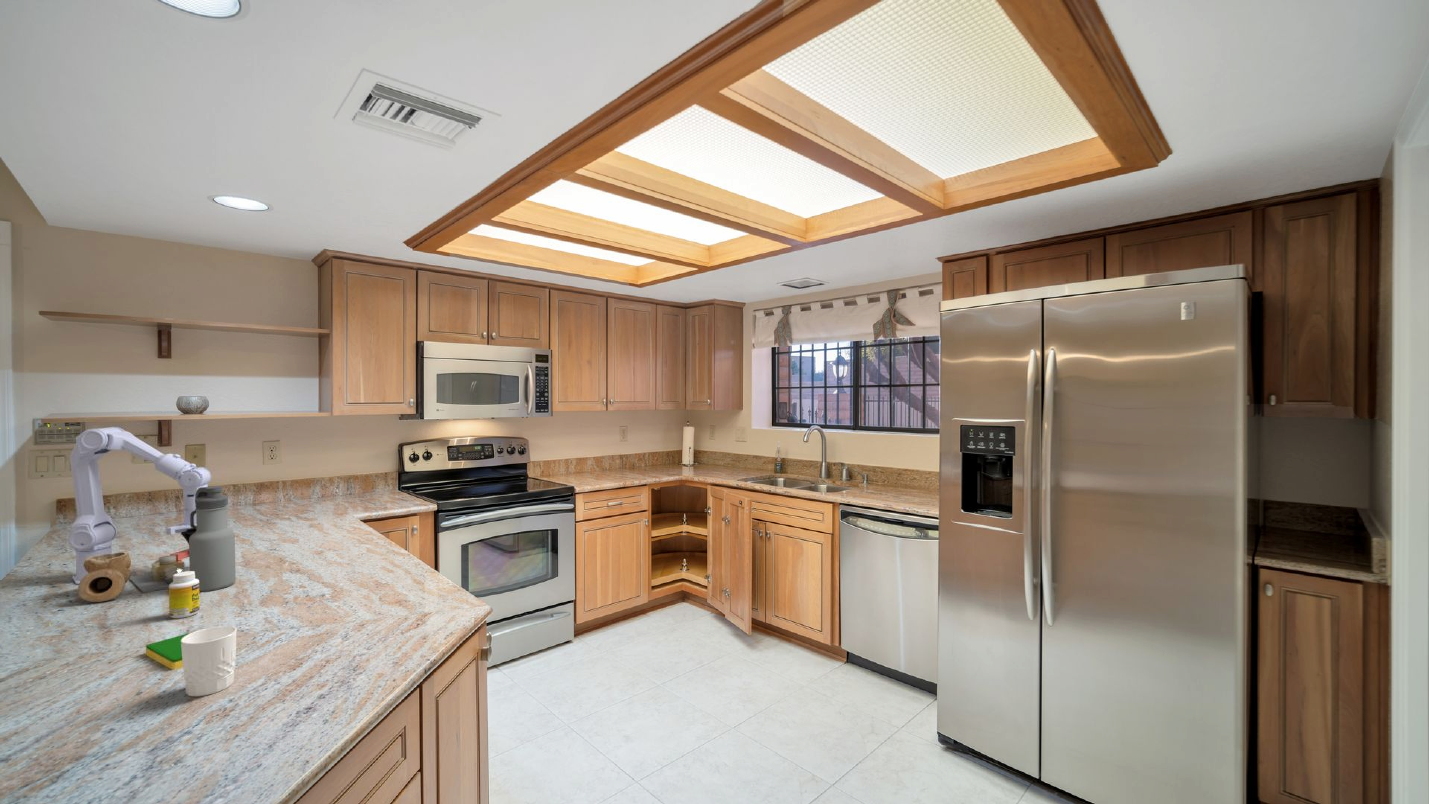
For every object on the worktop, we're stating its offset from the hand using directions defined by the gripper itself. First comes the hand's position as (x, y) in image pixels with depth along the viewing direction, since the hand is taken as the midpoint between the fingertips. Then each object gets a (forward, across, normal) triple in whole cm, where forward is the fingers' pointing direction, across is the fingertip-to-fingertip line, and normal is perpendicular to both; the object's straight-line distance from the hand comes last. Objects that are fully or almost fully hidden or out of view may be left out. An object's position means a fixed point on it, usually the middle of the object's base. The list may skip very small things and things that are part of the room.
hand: (197, 552), depth 179 cm
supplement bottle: (+6, -25, -36) cm, 44 cm away
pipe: (+6, -22, 0) cm, 22 cm away
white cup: (+6, -48, -81) cm, 94 cm away
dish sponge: (+7, -40, -60) cm, 73 cm away
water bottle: (+6, -8, -20) cm, 22 cm away
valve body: (+6, -8, 0) cm, 9 cm away
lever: (+1, -4, +2) cm, 4 cm away
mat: (+6, -6, -1) cm, 9 cm away
